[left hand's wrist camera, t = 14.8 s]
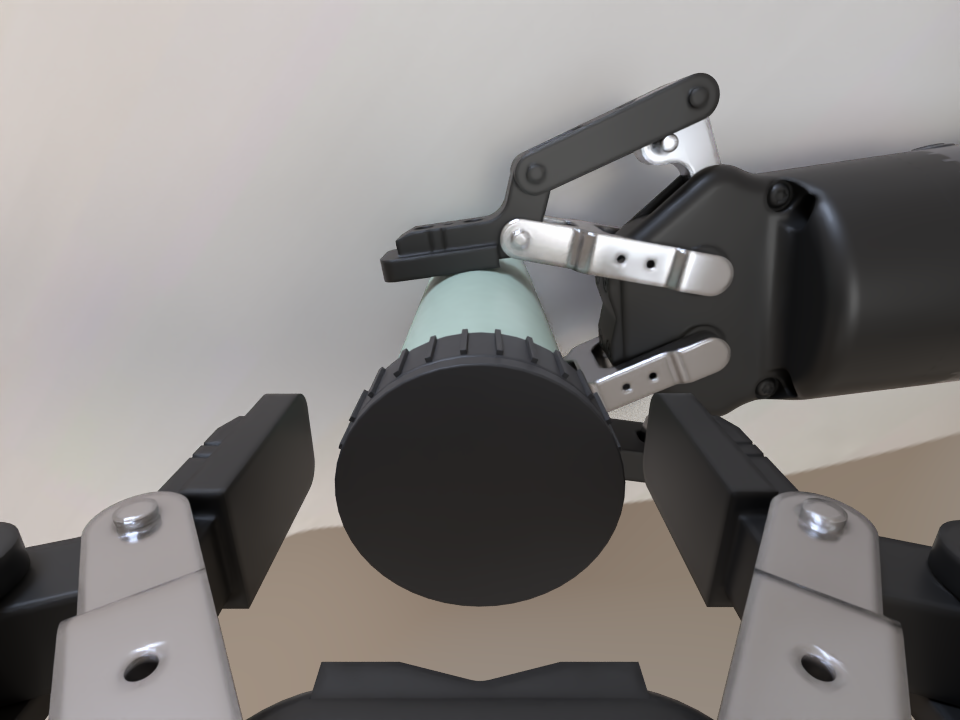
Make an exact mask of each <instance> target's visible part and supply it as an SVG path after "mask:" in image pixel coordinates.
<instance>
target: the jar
mask: <svg viewBox="0 0 960 720" xmlns="http://www.w3.org/2000/svg"><path fill="white" fill-rule="evenodd" d="M499 263H500V268H494V269H487V270H479V271H469V272H465V273H458V274H450V275H443V276H436V277H430V280H429V282H428V285H427V287H426V290H425V292H424V295H423V297H422V300H421V302H420V305H419V307H418V310H417V312H416V315H415V317H414V320H413V322H412V325H411V327H410V330H409V332H408V335H407V337H406V340H405V342H404V345H403V347H402V350H404V349H406V348H407V349H408V351H411V350H412V349H414V348H416V347H418V346H420V345H423V344H425V343H427V342H429V340H430V337H431V336H434V335H436V337H437V339H439V338H442V337H445V336H450V335H456V334H461V333H462V329H468V333H475V332H486V333H495V329H500V330H501V334H505V335H510V336H515V337H518V338H521V339H524V340H526V337H527V336H529V337H532V339H533V342H534V343H536V344H538V345H540V346H542V347H544V348H546V349H548V350H550V351H551V352H553V353H554V351H555V350H558V351H559V349H558V347H557V344H556V342H555V339H554V337H553V334H552V332H551V329H550V327H549V324H548V322H547V319H546V317H545V314H544V312H543V309H542V307H541V304H540V302H539V299H538V297H537V294H536V292H535V289H534V287H533V284H532V282H531V279H530V277H529V274H528V272H527V269H526V266H525V264H524V262H523V260H518V259H514V258H505V259H499ZM402 350H401V352H402ZM401 352H400V355H401ZM400 355H399V357H400ZM399 357H398V358H399Z"/></svg>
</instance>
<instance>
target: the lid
mask: <svg viewBox="0 0 960 720" xmlns="http://www.w3.org/2000/svg"><path fill="white" fill-rule="evenodd" d="M349 421H350V424H349V426H348V428H347V430H346V432H345V434H344V436H343V438H342V440H341V442H340V445H339V449H341V451H340V454H339V458H338V461H337V467H336V474H335V496H336V501H337V507H338V512H339V515H340V517H341V520H342V523H343V526H344V528H345V530H346V532H347V534H348V536H349V538H350V540H351V541H352V543H353V544H354V546H355V547H356V548H357V550H358V551H359V552H360V554H361V555H362V556H363V557H364V558H365V559H366V560H367V561H368V562H369V564H370V565H371V566H373V567H374V568H375V569H376V570H377V571H378V572H380V573H381V574H382V575H383V576H385V577H386V578H388V579H389V580H391V581H392V582H394V583H395V584H397V585H399V586H401V587H402V588H404V589H406V590H408V591H410V592H412V593H415V594H418V595H420V596H423V597H426V598H428V599H432V600H436V601H440V602H443V603H449V604H455V605H462V606H498V605H505V604H512V603H516V602H521V601H524V600H529V599H532V598H534V597H537V596H540V595H543V594H545V593H547V592H549V591H552V590H554V589H556V588H558V587H560V586H562V585H563V584H565V583H566V582H568V581H569V580H571V579H573V578H574V577H575V576H577V575H578V574H579V573H580V572H582V571H583V570H584V569H585V568H586V567H588V566H589V565H590V563H592V561H593V560H594V559H595V558H596V557H597V556H598V555H599V554H600V552H601V551H602V550H603V548H604V547H605V546H606V544H607V543H608V541H609V540H610V538H611V536H612V534H613V532H614V530H615V528H616V526H617V523H618V520H619V518H620V515H621V511H622V507H623V502H624V496H625V474H624V465H623V462H622V458H621V454H620V451H622V449H621V445H620V443H619V441H618V439H617V437H616V435H615V433H614V431H613V429H612V427H611V423H612V421H611V419H610V417H609V415H608V413H607V411H606V409H605V407H604V405H603V403H602V401H601V398H600V396H599V395H598V393H597V392H595V393H592V390H591V388H590V386H589V384H588V382H587V380H586V378H585V375H584V373H583V372H582V371H581V369H578V370H577V371H576V370H575V369H574V368H572V367H571V366H570V365H569V364H568V363H567V362H566V361H564V360H563V358H562V355H561V353H560V352H559V351H558V350H555V351H554V353H553V352H551V351H550V350H548V349H546V348H544V347H542V346H540V345H538V344H536V343H534V342H533V339H532V337H529V336H527V337H526V340H524V339H521V338H518V337H515V336H510V335H505V334H501V330H500V329H495V333H486V332H475V333H468V329H462V333H461V334H456V335H450V336H445V337H442V338H439V339H437V337H436V335H434V336H431V337H430V340H429V342H427V343H425V344H423V345H420V346H418V347H416V348H414V349H412V350H411V351H408V349H407V348H406V349H404V350H402V352H401V355H400V357H399V358H398V359H397V360H396V361H395V362H393V363H392V364H391V365H390V366H389V367H387V368H386V369H384V368H383V367H381V368H380V369H379V371H378V373H377V375H376V377H375V380H374V382H373V384H372V386H371V388H370V390H369V391H366V390H364V391H363V393H362V395H361V397H360V399H359V401H358V403H357V405H356V407H355V409H354V411H353V413H352V415H351V417H350V419H349Z"/></svg>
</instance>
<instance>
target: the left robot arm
mask: <svg viewBox="0 0 960 720" xmlns="http://www.w3.org/2000/svg"><path fill="white" fill-rule="evenodd" d="M314 468H315V460H314V451H313V444H312V437H311V429H310V422H309V415H308V407H307V402H306V399H305V397H304V396H303V395H302V394H265V395H264V396H263V397H262V398H261V399H260V400H259V401H258V402H257V403H256V404H255V406H254V407H253V408H252V409H251V410H250V411H249V412H248V413H247V414H246V416H239V417H237V418H235V419H233V420H232V421H230V422H228V423H226V424H225V425H223V426H221V427H219V428H218V429H217V430H216V431H215V432H214V433H213V434H212V435H211V436H210V437H209V438H208V439H207V440H206V441H205V442H204V446H200V447H199V449H198V450H197V451H196V452H195V453H194V454H193V457H192V458H189V459H188V460H187V461H186V462H185V463H184V464H183V465H182V466H181V467H180V468H179V470H178V471H177V472H176V473H175V474H174V475H173V476H172V477H171V478H170V479H169V480H168V481H167V482H166V483H165V484H164V485H163V486H162V487H161V488H160V489H159V491H158V492H151V493H145V494H141V495H137V496H134V497H131V498H128V499H125V500H123V501H120V502H118V503H116V504H114V505H112V506H110V507H108V508H106V509H105V510H103V511H102V512H100V513H99V514H98V515H96V516H95V517H94V518H93V519H92V520H91V521H90V522H89V523H88V524H87V525H86V526H85V528H84V530H83V532H82V536H81V537H77V538H73V539H68V540H62V541H57V542H52V543H47V544H42V545H37V546H32V547H27V548H25V546H24V543H23V541H22V538H21V536H20V533H19V531H18V529H17V528H16V527H15V526H14V525H12V524H10V523H5V522H0V720H45V719H46V718H47V716H48V715H49V719H48V720H243V718H242V713H241V709H240V705H239V701H238V697H237V693H236V689H235V685H234V681H233V677H232V673H231V669H230V665H229V660H228V656H227V652H226V648H225V644H224V640H223V636H222V632H221V628H220V624H219V620H218V615H219V613H220V612H221V610H222V609H249V607H250V606H251V604H252V602H253V600H254V598H255V596H256V594H257V592H258V590H259V588H260V586H261V584H262V582H263V580H264V578H265V576H266V574H267V572H268V570H269V568H270V566H271V564H272V562H273V560H274V558H275V556H276V554H277V552H278V550H279V548H280V546H281V544H282V542H283V540H284V538H285V537H286V535H287V533H288V531H289V529H290V527H291V525H292V523H293V521H294V519H295V517H296V515H297V513H298V511H299V509H300V507H301V505H302V503H303V501H304V499H305V497H306V495H307V493H308V491H309V489H310V487H311V484H312V481H313V477H314ZM643 474H644V479H645V483H646V486H647V488H648V490H649V492H650V494H651V496H652V498H653V500H654V502H655V504H656V506H657V508H658V510H659V512H660V514H661V516H662V518H663V520H664V522H665V524H666V526H667V528H668V530H669V532H670V534H671V536H672V538H673V540H674V542H675V544H676V546H677V548H678V550H679V552H680V554H681V556H682V558H683V560H684V562H685V564H686V566H687V568H688V570H689V572H690V574H691V576H692V578H693V580H694V582H695V584H696V586H697V588H698V590H699V592H700V594H701V596H702V598H703V600H704V602H705V604H706V606H707V607H734V609H735V611H736V612H737V614H738V616H739V618H740V620H741V624H740V628H739V632H738V636H737V640H736V644H735V648H734V652H733V656H732V661H731V665H730V669H729V673H728V677H727V681H726V685H725V689H724V693H723V697H722V701H721V705H720V709H719V714H718V718H717V720H912V719H911V715H912V716H913V718H914V719H915V720H960V520H955V521H949V522H946V523H944V524H943V525H942V526H941V527H940V529H939V531H938V534H937V536H936V539H935V541H934V544H933V546H932V547H931V546H926V545H921V544H916V543H910V542H905V541H900V540H895V539H890V538H885V537H880V536H878V532H877V530H876V528H875V526H874V525H873V524H872V523H871V522H870V521H869V520H868V519H867V518H866V517H865V516H864V515H862V514H861V513H860V512H858V511H857V510H855V509H854V508H852V507H850V506H848V505H846V504H844V503H842V502H840V501H837V500H835V499H832V498H829V497H826V496H823V495H819V494H815V493H809V492H800V491H798V490H797V489H796V488H795V486H794V485H793V484H792V483H791V482H790V481H789V480H788V479H787V478H786V477H785V476H784V475H783V474H782V473H781V472H780V471H779V470H778V468H777V467H776V466H775V465H774V464H773V463H772V462H771V461H770V460H769V459H768V458H767V457H764V455H763V453H762V451H761V450H760V449H759V448H758V447H757V446H756V445H753V444H752V441H751V440H750V439H749V438H748V437H747V436H746V435H745V433H744V432H743V431H742V430H741V429H740V428H739V427H737V426H735V425H733V424H732V423H730V422H728V421H726V420H725V419H723V418H721V417H719V416H712V415H711V414H710V413H709V412H708V411H707V410H706V408H705V407H704V406H703V405H702V404H701V403H700V402H699V401H698V399H697V398H696V397H695V396H694V395H693V394H691V393H655V394H654V395H653V397H652V399H651V402H650V408H649V415H648V423H647V430H646V438H645V445H644V453H643ZM247 720H713V719H712V718H710V717H708V716H707V715H705V714H703V713H702V712H700V711H698V710H696V709H694V708H692V707H690V706H688V705H686V704H684V703H682V702H680V701H678V700H675V699H672V698H669V697H667V696H664V695H661V694H658V693H655V692H651V691H647V688H646V685H645V682H644V679H643V675H642V672H641V669H640V666H639V663H638V662H559V663H554V664H550V665H547V666H543V667H539V668H535V669H531V670H527V671H523V672H519V673H515V674H511V675H507V676H503V677H499V678H495V679H491V680H486V681H473V680H469V679H465V678H461V677H457V676H453V675H449V674H445V673H441V672H437V671H433V670H429V669H425V668H421V667H417V666H413V665H409V664H405V663H401V662H321V666H320V669H319V672H318V675H317V679H316V682H315V685H314V688H313V691H309V692H305V693H302V694H299V695H296V696H293V697H291V698H288V699H285V700H283V701H280V702H278V703H276V704H274V705H272V706H270V707H268V708H266V709H264V710H262V711H260V712H258V713H257V714H255V715H253V716H252V717H250V718H248V719H247Z"/></svg>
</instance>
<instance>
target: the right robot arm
mask: <svg viewBox="0 0 960 720" xmlns="http://www.w3.org/2000/svg"><path fill="white" fill-rule="evenodd" d="M719 96H720V91H719V86H718V84H717V82H716V80H715V79H714V78H713V77H712V76H710V75H708V74H705V73H697V74H693V75H690V76H688V77H685V78H682V79H679V80H677V81H674V82H671V83H669V84H666V85H663V86H661V87H659V88H657V89H655V90H653V91H651V92H648V93H646V94H644V95H642V96H640V97H638V98H636V99H634V100H632V101H630V102H627V103H625V104H623V105H621V106H619V107H617V108H615V109H613V110H611V111H609V112H607V113H604V114H602V115H600V116H598V117H596V118H594V119H592V120H590V121H588V122H586V123H584V124H581V125H579V126H577V127H575V128H573V129H571V130H569V131H567V132H565V133H563V134H561V135H558V136H556V137H554V138H552V139H550V140H548V141H546V142H544V143H542V144H540V145H538V146H535V147H533V148H531V149H529V150H527V151H525V152H523V153H521V154H519V155H518V156H517V157H516V158H515V159H514V160H513V162H512V165H511V169H510V177H509V182H508V186H507V191H506V195H505V199H504V202H503V204H502V205H501V207H500V208H499V209H498V210H497V211H496V212H495V213H493V214H491V215H489V216H485V217H478V218H471V219H464V220H457V221H450V222H444V223H436V224H429V225H422V226H415V227H414V228H412V229H410V230H409V231H407V232H405V233H404V234H402V235H401V236H400V237H399V238H398V239H397V240H396V246H397V249H395V250H391V251H388V252H387V253H386V254H385V255H384V256H383V257H382V258H381V259H380V261H381V266H382V270H383V275H384V280H385V282H400V281H407V280H414V279H422V278H429V277H436V276H443V275H450V274H458V273H465V272H469V271H479V270H487V269H494V268H500V263H499V259H505V258H514V259H518V260H524V261H530V262H536V263H542V264H547V265H553V266H559V267H565V268H569V269H573V270H575V271H578V272H581V273H584V274H589V275H595V278H596V284H597V287H598V290H599V293H600V296H601V299H602V302H603V305H602V310H601V314H600V319H599V324H598V328H599V337H596V338H594V339H592V340H589V341H587V342H585V343H583V344H580V345H578V346H576V347H574V348H573V349H572V350H571V351H570V352H569V354H568V355H567V356H565V357H563V360H564V361H566V362H567V363H568V364H569V365H570V366H571V367H572V368H574V369H575V370H576V371H577V370H578V369H581V371H582V372H583V373H584V375H585V378H586V380H587V382H588V384H589V386H590V388H591V390H592V393H595V392H597V393H598V395H599V396H600V398H601V401H602V403H603V405H604V407H605V409H606V411H607V412H610V411H612V410H615V409H617V408H620V407H622V406H624V405H627V404H629V403H632V402H634V401H637V400H639V399H642V398H644V397H646V396H649V395H651V394H655V393H691V394H693V395H694V396H695V397H696V398H697V399H698V401H699V402H700V403H701V404H702V405H703V406H704V407H705V408H706V410H707V411H708V412H709V413H710V414H711V415H712V416H723V415H725V414H727V413H729V412H731V411H732V410H734V409H736V408H737V407H739V406H741V405H743V404H745V403H748V402H751V401H754V400H758V399H783V400H804V399H813V398H821V397H829V396H837V395H845V394H854V393H862V392H870V391H878V390H886V389H895V388H903V387H911V386H919V385H927V384H935V383H943V382H951V381H959V380H960V144H959V145H955V144H944V143H941V144H934V145H929V146H924V147H920V148H917V149H914V150H912V151H911V152H904V153H897V154H890V155H883V156H876V157H869V158H862V159H856V160H849V161H842V162H835V163H828V164H821V165H814V166H807V167H800V168H794V169H787V170H780V171H773V172H766V173H758V174H752V173H748V172H746V171H743V170H741V169H739V168H737V167H734V166H731V165H725V164H721V162H720V158H719V154H718V150H717V146H716V143H715V139H714V135H713V131H712V127H711V124H710V120H709V116H710V115H711V114H712V113H713V111H714V110H715V109H716V107H717V104H718V102H719ZM633 152H634V154H635V156H636V158H637V159H638V160H639V161H640V162H642V163H644V164H648V165H664V164H668V163H671V164H673V165H674V166H676V167H677V169H678V170H679V172H680V174H681V175H680V176H679V177H678V178H676V179H675V180H674V181H673V182H672V183H671V184H670V185H669V186H668V187H666V188H665V189H664V190H663V191H662V192H661V193H660V194H659V195H658V196H656V197H655V198H654V199H653V200H652V201H651V202H650V203H649V204H647V205H646V206H645V207H644V208H643V209H642V210H641V211H640V212H639V213H637V214H636V215H635V216H634V217H633V218H632V219H631V220H630V221H629V222H627V223H626V224H625V225H624V226H623V227H622V228H621V227H616V226H610V225H604V224H598V223H593V222H587V221H581V220H575V219H563V218H557V217H551V216H545V215H544V214H545V211H546V207H547V203H548V199H549V195H550V191H551V190H553V189H555V188H557V187H559V186H561V185H563V184H566V183H568V182H570V181H572V180H574V179H576V178H579V177H581V176H583V175H585V174H587V173H589V172H592V171H594V170H596V169H598V168H600V167H602V166H605V165H607V164H609V163H611V162H613V161H615V160H618V159H620V158H622V157H624V156H626V155H628V154H631V153H633ZM604 352H605V353H604ZM610 419H611V418H610ZM611 421H612V423H611V427H612V429H613V431H614V433H615V435H616V437H617V439H618V441H619V443H620V445H621V449H622V451H620V454H621V458H622V462H623V465H624V474H625V480H629V481H637V482H645V479H644V474H643V453H644V445H645V438H646V430H647V423H648V416H647V417H646V418H645V421H644V423H642V422H634V421H627V420H619V419H611Z"/></svg>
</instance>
